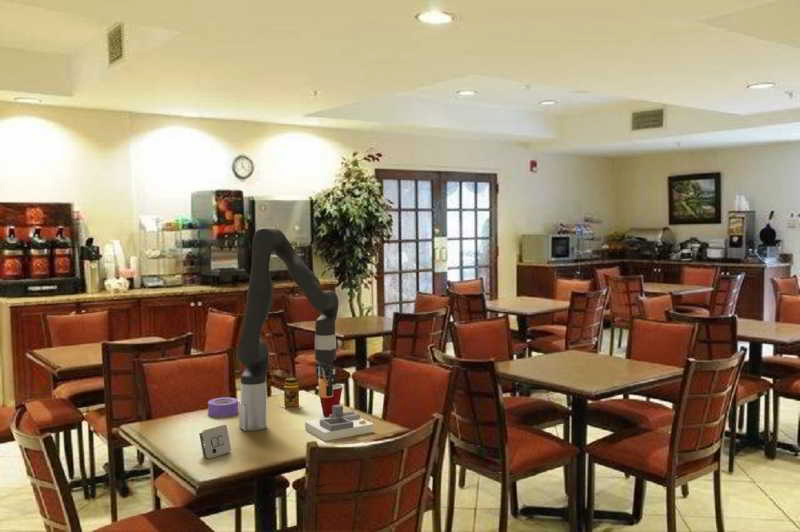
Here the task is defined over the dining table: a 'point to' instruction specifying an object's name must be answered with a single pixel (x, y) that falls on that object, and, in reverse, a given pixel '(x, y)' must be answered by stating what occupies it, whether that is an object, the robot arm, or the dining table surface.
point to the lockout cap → (323, 388)
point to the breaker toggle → (337, 411)
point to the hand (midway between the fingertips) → (326, 394)
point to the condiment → (291, 394)
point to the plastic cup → (331, 399)
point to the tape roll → (223, 407)
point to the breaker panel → (339, 426)
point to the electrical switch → (215, 441)
